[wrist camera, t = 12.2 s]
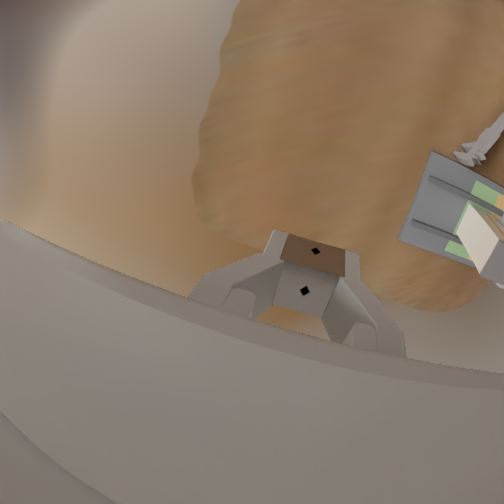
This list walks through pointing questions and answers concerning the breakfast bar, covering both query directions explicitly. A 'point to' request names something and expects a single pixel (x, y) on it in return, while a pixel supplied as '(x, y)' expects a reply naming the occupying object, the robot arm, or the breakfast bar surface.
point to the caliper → (480, 144)
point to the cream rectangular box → (483, 242)
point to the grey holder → (448, 207)
